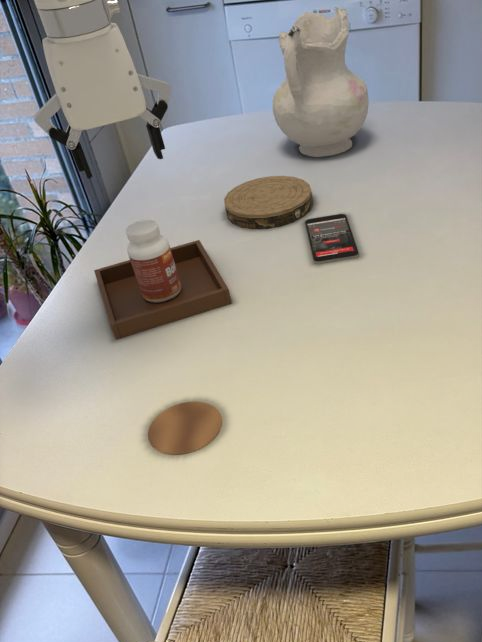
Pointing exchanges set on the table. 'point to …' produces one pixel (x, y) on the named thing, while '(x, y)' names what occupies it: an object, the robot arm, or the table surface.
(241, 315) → the table surface
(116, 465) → the table surface
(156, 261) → the pill bottle
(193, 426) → the coaster
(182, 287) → the tray
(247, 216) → the wood log slice
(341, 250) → the smartphone
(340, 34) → the ceramic pitcher
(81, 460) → the table surface
